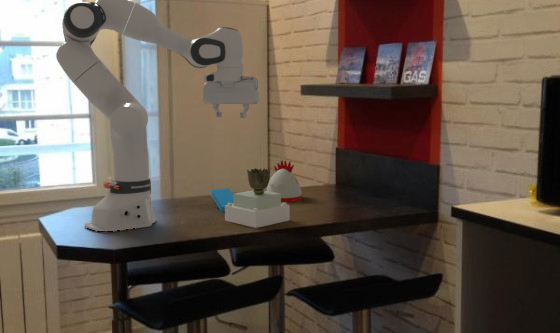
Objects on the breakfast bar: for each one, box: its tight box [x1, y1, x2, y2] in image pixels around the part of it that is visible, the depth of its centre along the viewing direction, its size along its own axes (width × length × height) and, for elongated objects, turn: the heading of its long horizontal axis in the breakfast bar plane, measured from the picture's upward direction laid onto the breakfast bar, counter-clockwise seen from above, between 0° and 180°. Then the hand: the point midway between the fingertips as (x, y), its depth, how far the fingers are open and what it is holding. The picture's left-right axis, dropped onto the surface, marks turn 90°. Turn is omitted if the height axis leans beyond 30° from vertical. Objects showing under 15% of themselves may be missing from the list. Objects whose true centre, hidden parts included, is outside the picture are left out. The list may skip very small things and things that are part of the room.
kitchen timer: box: [266, 160, 303, 203], centre depth 247 cm, size 14×14×15 cm
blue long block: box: [210, 188, 234, 213], centre depth 233 cm, size 7×7×18 cm
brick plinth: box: [224, 189, 291, 229], centre depth 209 cm, size 15×15×9 cm
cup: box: [246, 167, 271, 194], centre depth 208 cm, size 8×7×8 cm
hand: (230, 117), depth 218 cm, fingers open, 8 cm apart
